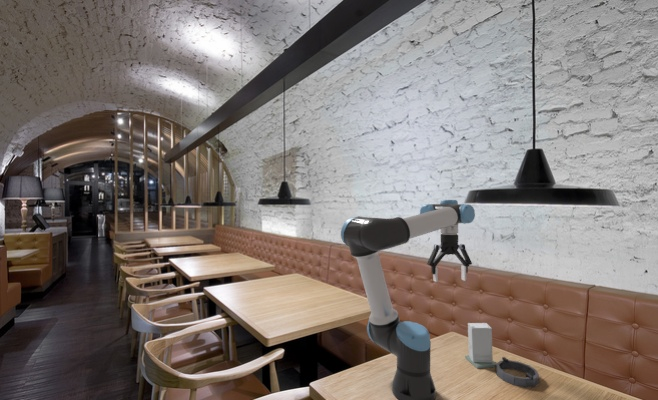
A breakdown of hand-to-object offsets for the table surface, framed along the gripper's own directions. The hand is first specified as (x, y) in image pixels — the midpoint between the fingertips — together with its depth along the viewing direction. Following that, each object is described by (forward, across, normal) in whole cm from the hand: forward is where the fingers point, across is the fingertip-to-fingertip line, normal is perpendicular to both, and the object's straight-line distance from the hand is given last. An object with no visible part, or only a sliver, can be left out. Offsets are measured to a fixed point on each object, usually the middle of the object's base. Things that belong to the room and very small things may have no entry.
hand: (449, 280), depth 144 cm
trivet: (+33, +9, -9) cm, 35 cm away
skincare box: (+32, +9, -9) cm, 34 cm away
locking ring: (+33, +16, -22) cm, 42 cm away
